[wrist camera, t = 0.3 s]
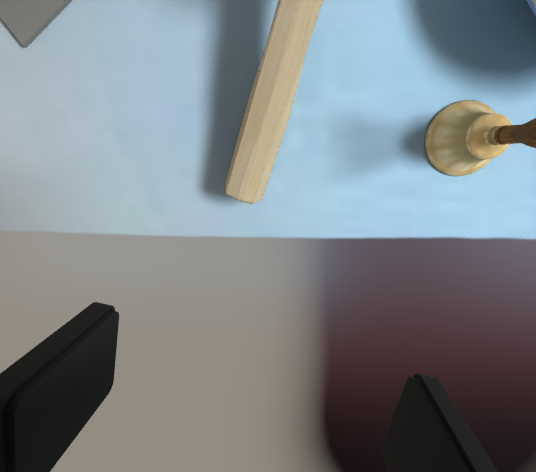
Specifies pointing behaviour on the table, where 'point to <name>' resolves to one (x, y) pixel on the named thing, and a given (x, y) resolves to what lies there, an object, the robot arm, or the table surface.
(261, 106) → the hammer
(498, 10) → the table surface
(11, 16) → the floor section
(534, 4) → the ramen bowl
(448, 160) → the hand bell
